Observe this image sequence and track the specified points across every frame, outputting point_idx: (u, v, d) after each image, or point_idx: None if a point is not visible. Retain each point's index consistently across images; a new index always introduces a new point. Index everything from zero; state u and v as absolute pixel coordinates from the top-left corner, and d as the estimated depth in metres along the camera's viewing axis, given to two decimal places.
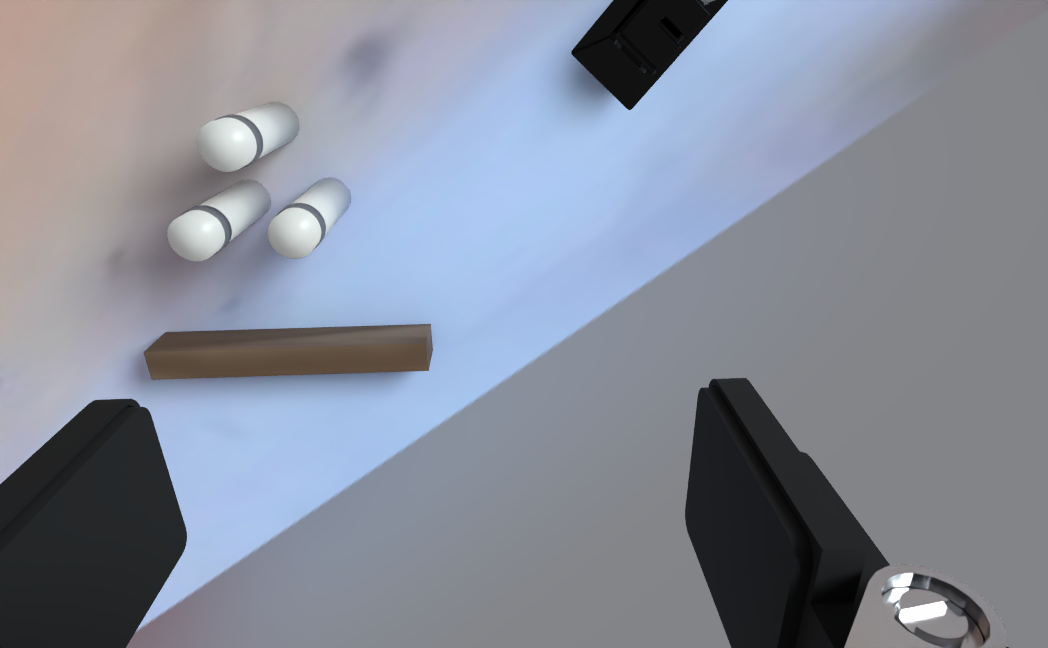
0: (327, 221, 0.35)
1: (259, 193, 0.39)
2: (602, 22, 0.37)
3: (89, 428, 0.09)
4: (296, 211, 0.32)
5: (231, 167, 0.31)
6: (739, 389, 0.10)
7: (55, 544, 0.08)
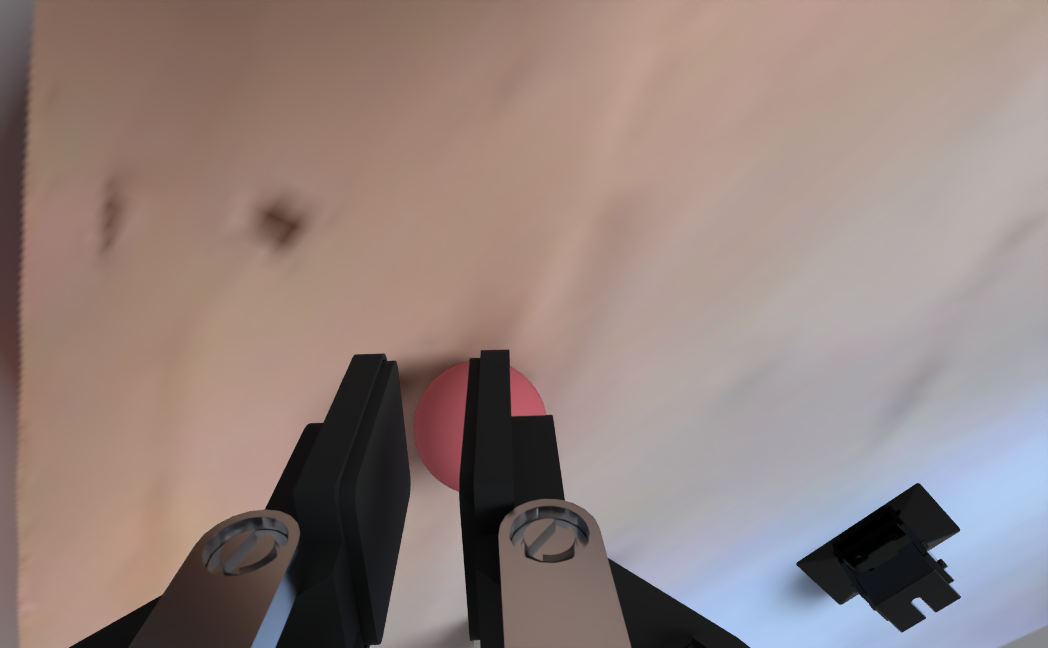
0: None
1: None
2: (832, 545, 0.37)
3: (368, 376, 0.11)
4: None
5: None
6: (494, 358, 0.11)
7: (374, 469, 0.09)
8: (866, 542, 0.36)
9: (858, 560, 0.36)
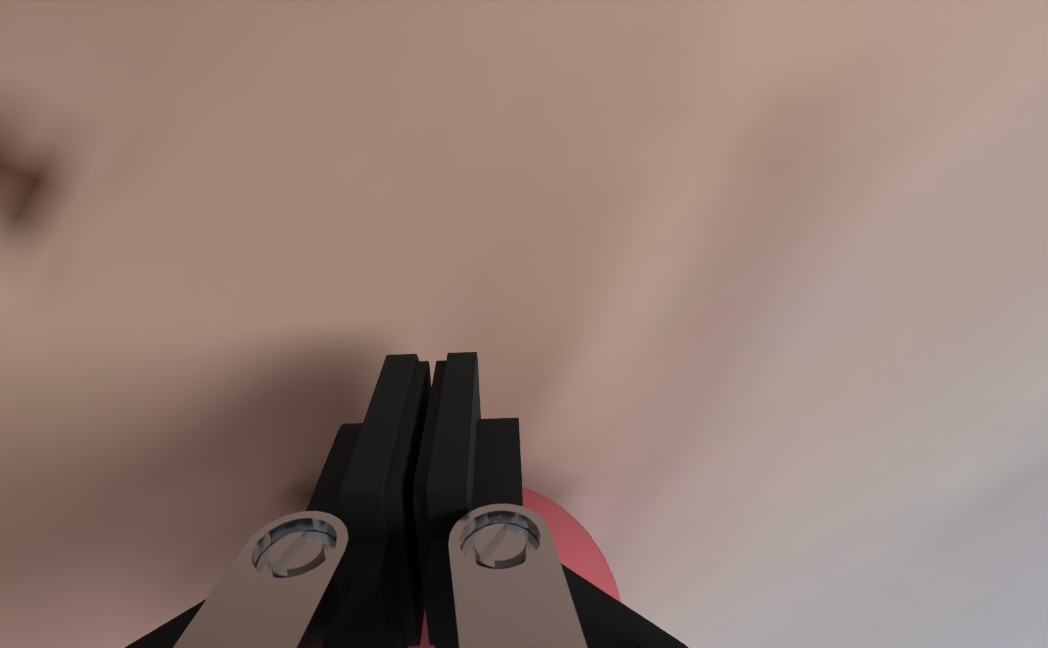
0: None
1: None
2: None
3: (403, 376, 0.10)
4: None
5: None
6: (460, 361, 0.11)
7: (413, 470, 0.09)
8: None
9: None
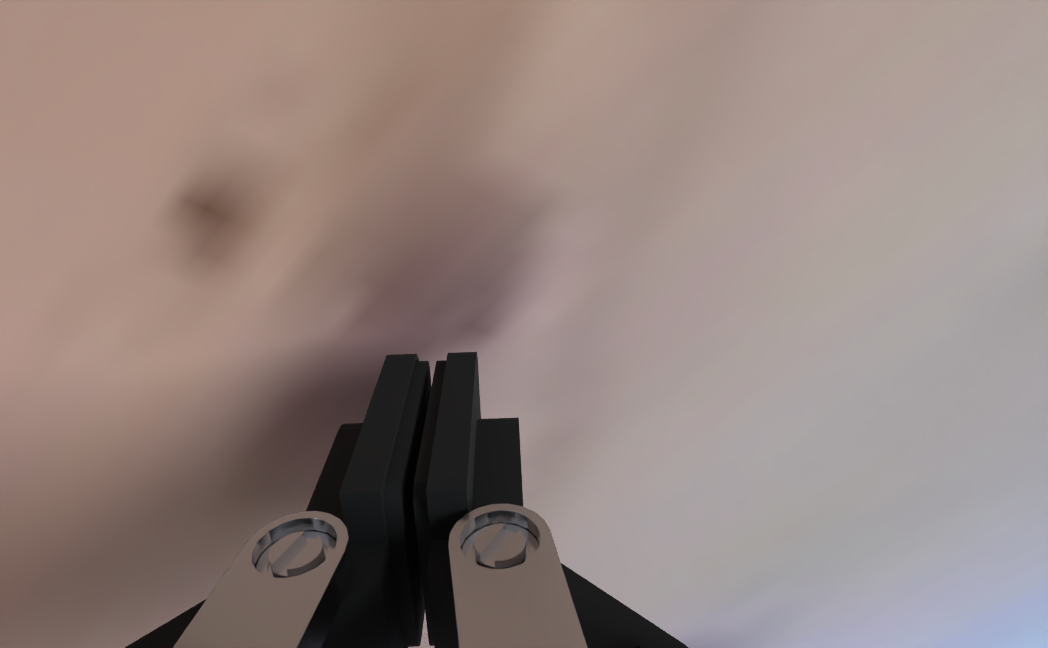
0: None
1: None
2: None
3: (403, 376, 0.10)
4: None
5: None
6: (460, 361, 0.11)
7: (413, 470, 0.09)
8: None
9: None
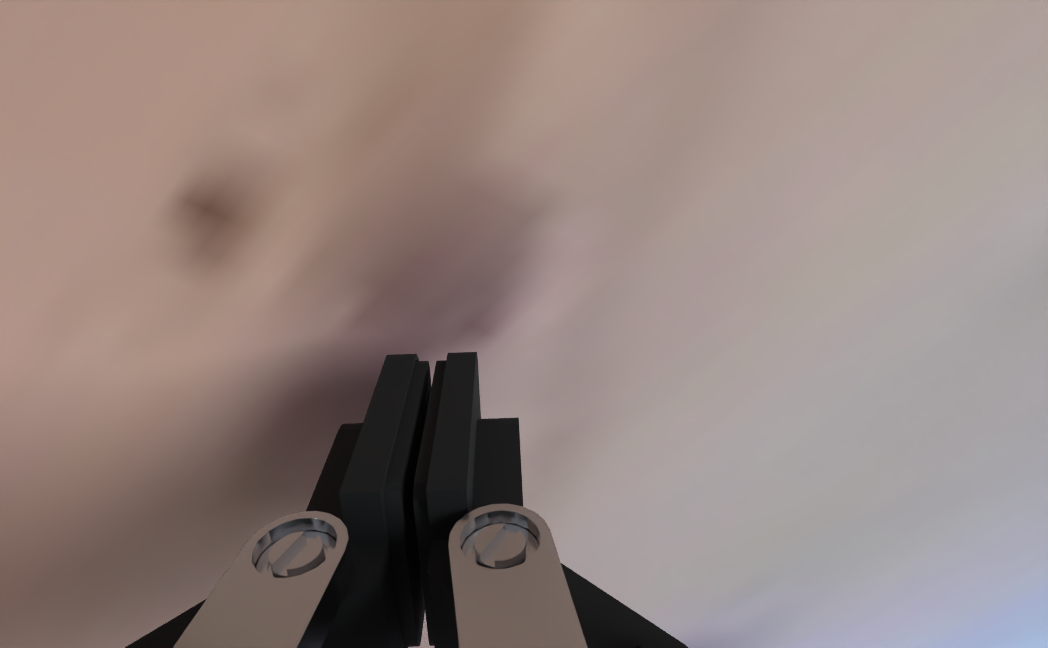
0: None
1: None
2: None
3: (403, 376, 0.10)
4: None
5: None
6: (460, 361, 0.11)
7: (413, 470, 0.09)
8: None
9: None
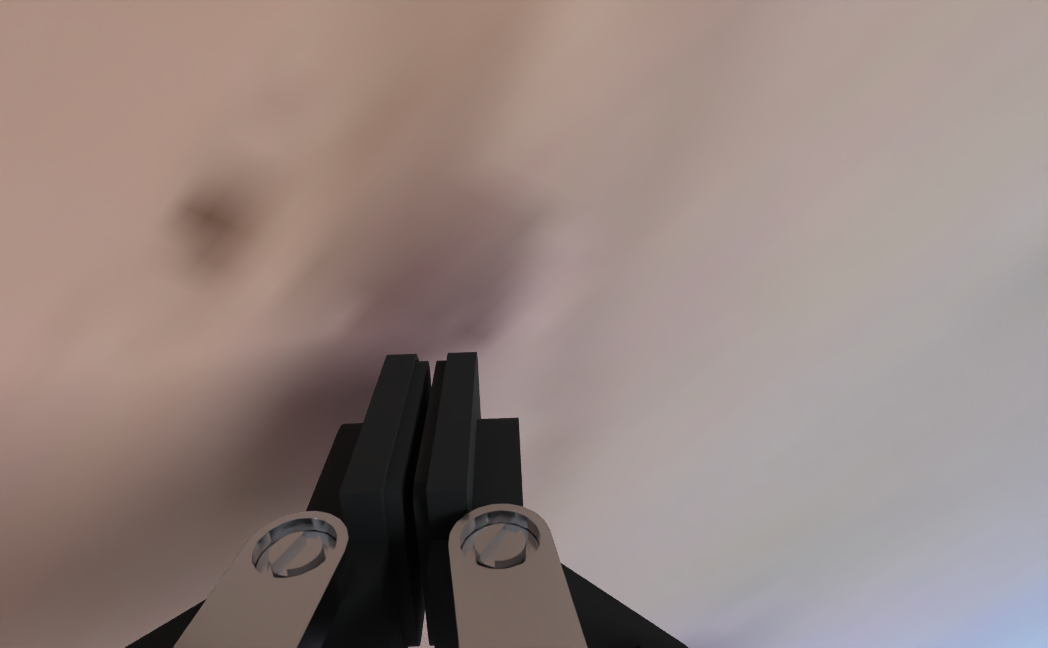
0: None
1: None
2: None
3: (403, 376, 0.10)
4: None
5: None
6: (460, 361, 0.11)
7: (413, 470, 0.09)
8: None
9: None
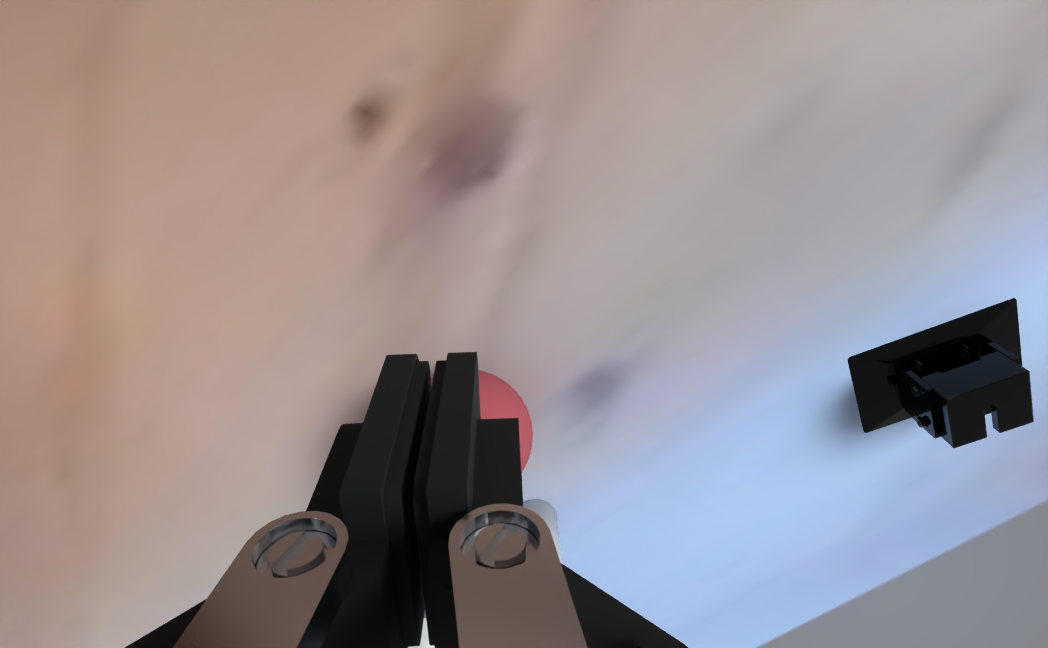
0: None
1: None
2: (896, 346, 0.31)
3: (403, 376, 0.10)
4: None
5: None
6: (460, 361, 0.11)
7: (413, 470, 0.09)
8: (935, 352, 0.31)
9: (919, 370, 0.31)
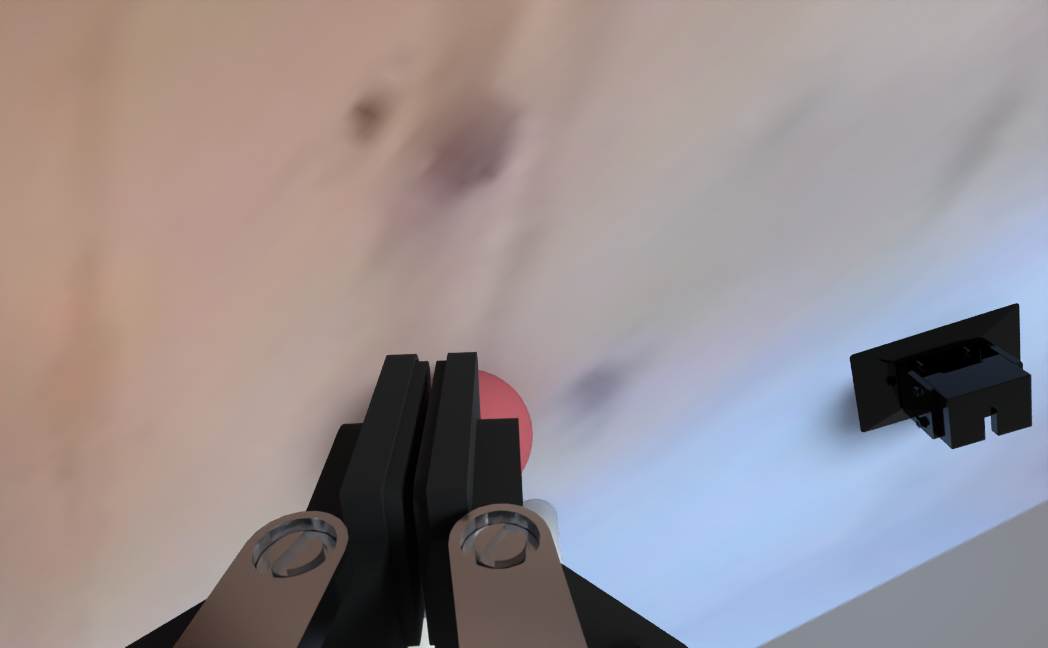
0: None
1: None
2: (898, 346, 0.31)
3: (403, 376, 0.10)
4: None
5: None
6: (460, 361, 0.11)
7: (413, 470, 0.09)
8: (936, 353, 0.31)
9: (920, 371, 0.31)
